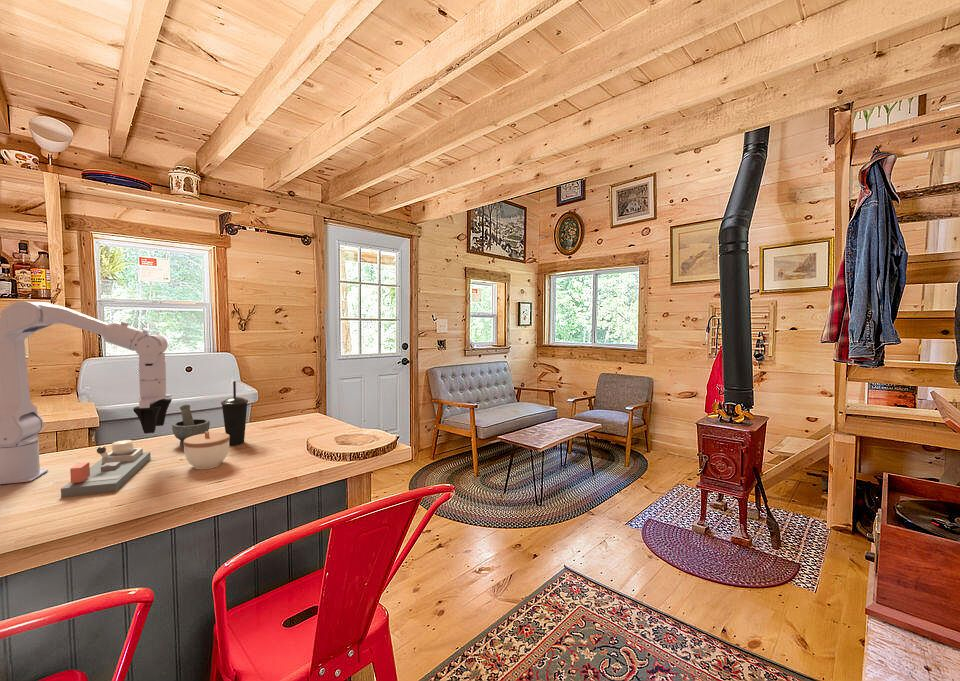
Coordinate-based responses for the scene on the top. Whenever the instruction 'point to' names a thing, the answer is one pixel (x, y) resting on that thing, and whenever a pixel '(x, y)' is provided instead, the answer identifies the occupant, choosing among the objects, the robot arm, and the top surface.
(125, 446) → the push button
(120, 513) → the top surface
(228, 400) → the drinking cup
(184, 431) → the mortar and pestle
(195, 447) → the lidded jar
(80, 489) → the panel
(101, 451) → the toggle lever
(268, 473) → the top surface
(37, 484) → the top surface
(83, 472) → the slide paddle
